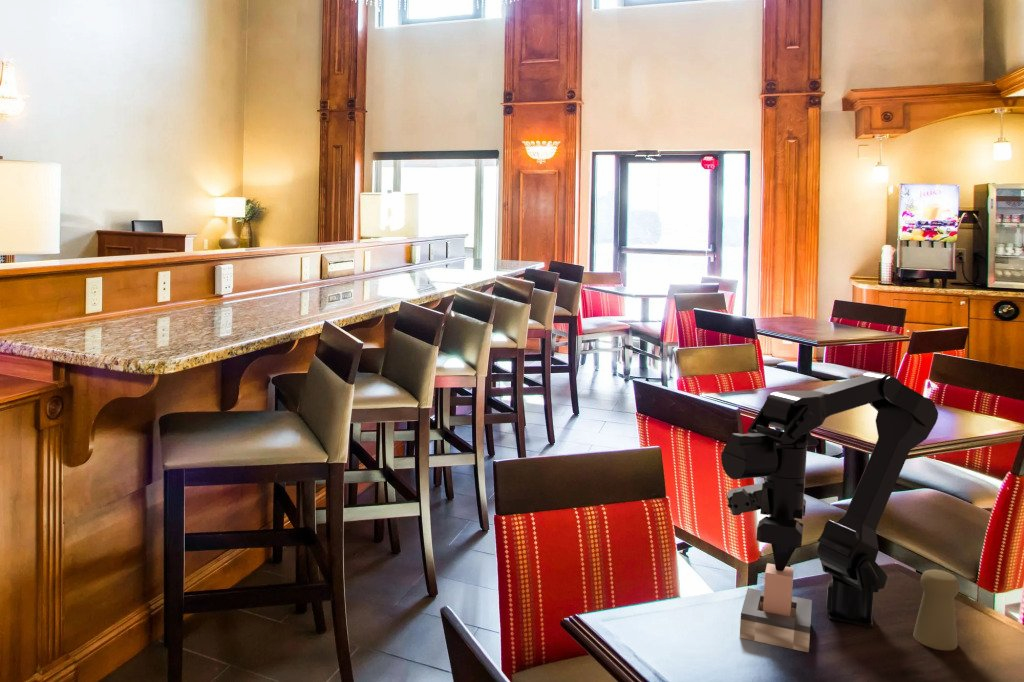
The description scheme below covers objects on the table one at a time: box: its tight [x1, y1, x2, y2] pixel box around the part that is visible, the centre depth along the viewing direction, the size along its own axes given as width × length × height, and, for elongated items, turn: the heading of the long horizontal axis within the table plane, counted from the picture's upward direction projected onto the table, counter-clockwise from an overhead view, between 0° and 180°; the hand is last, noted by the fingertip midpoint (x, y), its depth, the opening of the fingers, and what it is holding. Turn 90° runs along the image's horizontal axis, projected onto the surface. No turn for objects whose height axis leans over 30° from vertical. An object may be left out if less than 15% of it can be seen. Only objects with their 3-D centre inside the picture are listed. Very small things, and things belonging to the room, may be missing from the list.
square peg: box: [763, 562, 795, 617], centre depth 115 cm, size 4×4×10 cm
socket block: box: [739, 587, 813, 653], centre depth 115 cm, size 10×10×4 cm
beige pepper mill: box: [912, 569, 960, 651], centre depth 112 cm, size 6×6×11 cm
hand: (779, 569), depth 114 cm, fingers closed
